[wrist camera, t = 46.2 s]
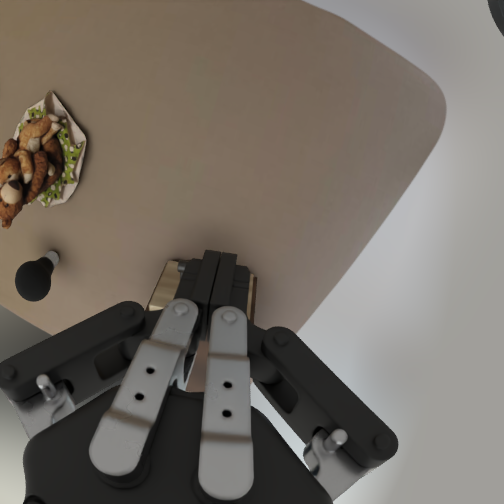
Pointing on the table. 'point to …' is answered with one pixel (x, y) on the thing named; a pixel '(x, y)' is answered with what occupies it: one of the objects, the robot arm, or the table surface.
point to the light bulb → (36, 277)
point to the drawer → (171, 282)
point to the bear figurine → (40, 159)
